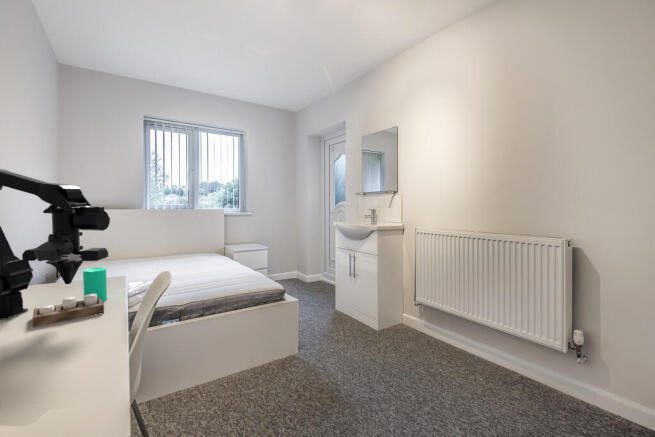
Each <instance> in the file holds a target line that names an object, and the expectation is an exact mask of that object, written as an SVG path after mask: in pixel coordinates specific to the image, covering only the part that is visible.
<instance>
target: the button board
mask: <svg viewBox="0 0 655 437" xmlns="http://www.w3.org/2000/svg"><path fill="white" fill-rule="evenodd" d="M76 306H77V308H72V309H66V310H63V303H60V304H56V305H55V304H54V312H50V313H44V314H39V308H40V307H38V308H33V312H32V327H33V328H36V327H37V328H38V327H42V326H47V325H51V324H57V323H60V322H61V323H62V322H67V321H72V320H76V319H82V318H86V317H92V316H96V315H95V314H97V315H101V314H100V313H102V314H105V306H104V302H102V300H101V298H97V304H94V305H89V306H84V299H83V300H79V301H77V300H76ZM91 315H92V316H91Z"/></svg>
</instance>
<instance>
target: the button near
mask: <svg viewBox="0 0 655 437" xmlns="http://www.w3.org/2000/svg"><path fill="white" fill-rule="evenodd" d="M54 305H55V304H54ZM54 305H53V304H51V305H50V304H48V305H44V306H40V307H38V308H39V314H44V313H50V312H54Z"/></svg>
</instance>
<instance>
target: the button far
mask: <svg viewBox="0 0 655 437" xmlns="http://www.w3.org/2000/svg"><path fill="white" fill-rule="evenodd" d="M83 300H84V306H89V305H94V304H97V294H88V295H85V296H84V295H83Z"/></svg>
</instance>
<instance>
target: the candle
mask: <svg viewBox="0 0 655 437" xmlns="http://www.w3.org/2000/svg"><path fill="white" fill-rule="evenodd" d="M82 278H83V280H82V281H83V282H82V284H83V297H84V296H85V295H88V294H97V298H101V300H102V302H103V303H104V302H106V301H107V300H108V289H107V284H108V283H107V268H106V267H99V266H98V267H96V265H95V264H94V267H90V268H87V269H84V270H82Z"/></svg>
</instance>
